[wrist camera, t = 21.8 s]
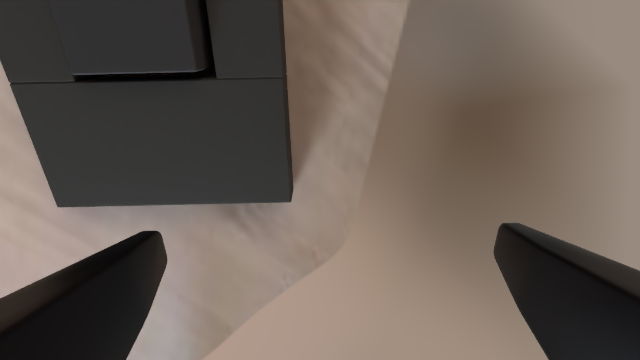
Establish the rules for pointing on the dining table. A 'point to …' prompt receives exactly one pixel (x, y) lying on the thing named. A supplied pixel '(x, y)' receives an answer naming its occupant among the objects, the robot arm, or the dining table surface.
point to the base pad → (157, 115)
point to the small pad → (134, 35)
